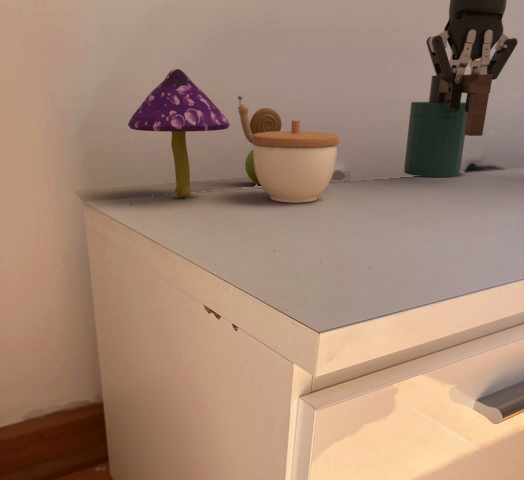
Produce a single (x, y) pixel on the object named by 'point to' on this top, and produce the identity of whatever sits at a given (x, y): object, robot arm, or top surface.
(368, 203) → the top surface
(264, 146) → the trinket box
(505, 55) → the robot arm
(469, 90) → the brown wooden arch
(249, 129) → the snail figurine
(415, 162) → the jar
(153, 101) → the decorative mushroom
